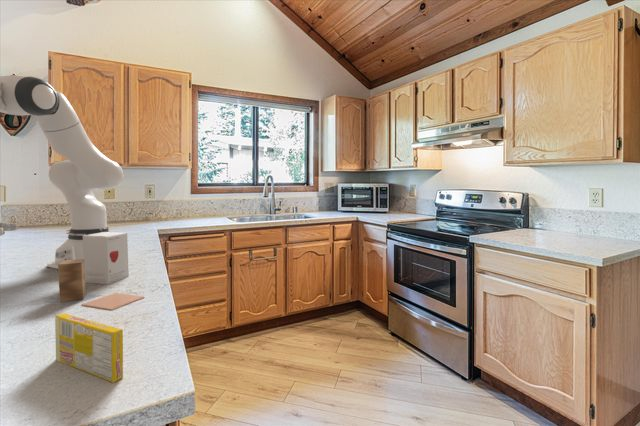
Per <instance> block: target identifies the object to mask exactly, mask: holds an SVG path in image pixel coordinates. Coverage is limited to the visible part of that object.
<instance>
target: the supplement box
mask: <svg viewBox="0 0 640 426" xmlns="http://www.w3.org/2000/svg"><path fill="white" fill-rule="evenodd" d="M128 246H129V245H128V232H117V231H116V232H113V231H109V232H101V233H95V234H89V235H83V259H84V264H85V283H89V284H90V283H91V284H102V285H109V284H113V283H115V282H117V281H121V280H123V279H126V278H129V252H128V251H129V247H128Z"/></svg>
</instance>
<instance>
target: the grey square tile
mask: <svg viewBox="0 0 640 426" xmlns="http://www.w3.org/2000/svg"><path fill="white" fill-rule="evenodd" d="M101 296H102V295H101V294H97V293H96V294H95V293H89V292H86V296H85V297H84V299H83V300H79V301H70V302H62V303H60V296H59V297H56V298H52V299H50V300H49V299H48V300H46V301H45V300H44V303H48V304H54V305H59V306H66V307H71V306H73V305H76V304H80V303H83V302H86V301H88V300H92V299H95V298H98V297H101Z"/></svg>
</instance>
